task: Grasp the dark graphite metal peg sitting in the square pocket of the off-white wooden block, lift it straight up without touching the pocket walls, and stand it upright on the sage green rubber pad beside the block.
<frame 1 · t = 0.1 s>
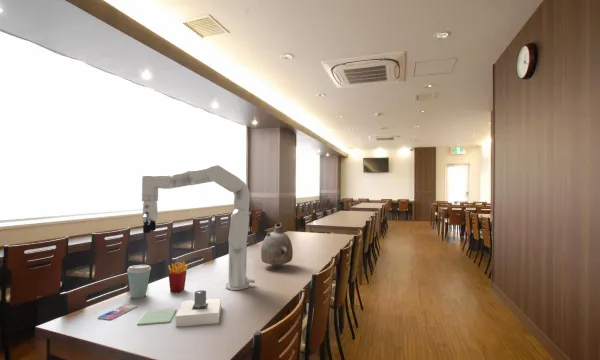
hand: (149, 231, 156), 31 cm above the table, tool pointing down, fingers open, 9 cm apart
smartphone: (118, 313, 129), on the table
french fries: (177, 290, 158), on the table
pocket block: (200, 316, 125), on the table
disposable coffee cup: (139, 296, 149), on the table
pad: (157, 317, 124), on the table
peg: (200, 304, 126), in the pocket block
jug: (276, 267, 204), on the table
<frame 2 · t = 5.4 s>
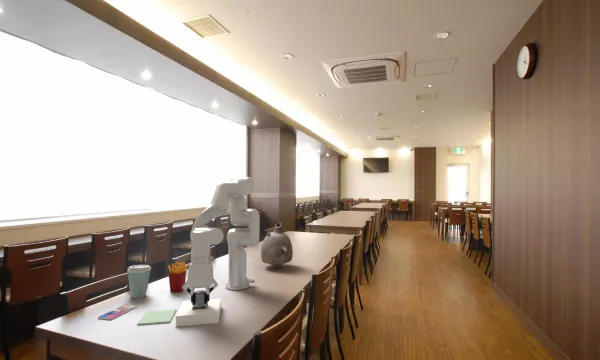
hand: (200, 303, 126), 5 cm above the table, tool pointing down, fingers closed on peg, 4 cm apart
peg: (200, 304, 126), in the pocket block, touching gripper
everything else where it was.
when the fingers open (7 cm above the table, at t = 14.4 s): peg stays where it is, resting on pad.
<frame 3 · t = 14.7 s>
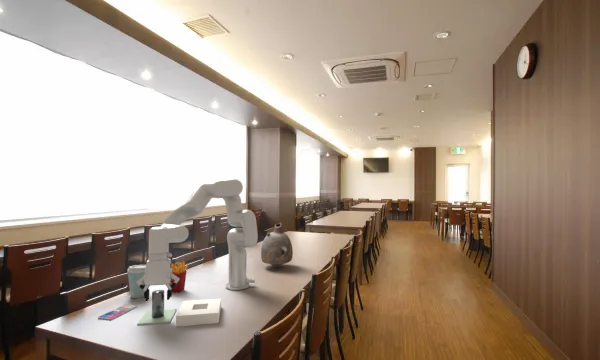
hand: (158, 299, 124), 8 cm above the table, tool pointing down, fingers open, 7 cm apart
peg: (158, 303, 124), on the pad, point 6 cm above the table
everything else where it was.
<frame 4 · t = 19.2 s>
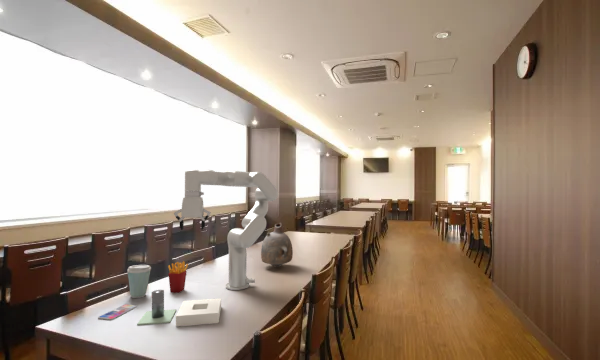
hand: (192, 229, 149), 33 cm above the table, tool pointing down, fingers open, 9 cm apart
nothing on the table moved.
at the end: peg 0.1 cm off-centre on the pad, point 5.6 cm above the pad's base; peg tilted 1°; the gripper is holding nothing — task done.
